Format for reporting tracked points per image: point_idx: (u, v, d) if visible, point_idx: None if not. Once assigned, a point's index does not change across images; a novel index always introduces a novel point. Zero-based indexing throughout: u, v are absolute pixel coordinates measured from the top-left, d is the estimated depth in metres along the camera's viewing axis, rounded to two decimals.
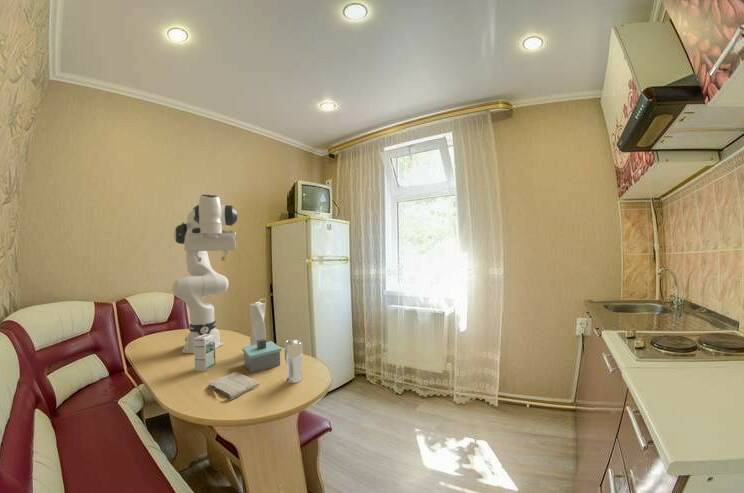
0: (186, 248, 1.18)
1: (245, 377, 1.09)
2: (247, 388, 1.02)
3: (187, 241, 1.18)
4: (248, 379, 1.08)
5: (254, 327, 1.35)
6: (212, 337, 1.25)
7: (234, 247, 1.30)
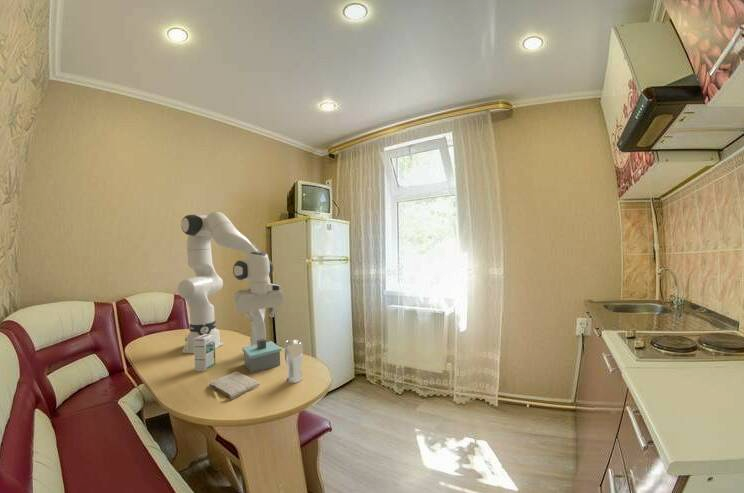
0: None
1: (245, 377, 1.09)
2: (247, 388, 1.02)
3: None
4: (248, 379, 1.08)
5: (254, 327, 1.35)
6: (212, 337, 1.25)
7: None
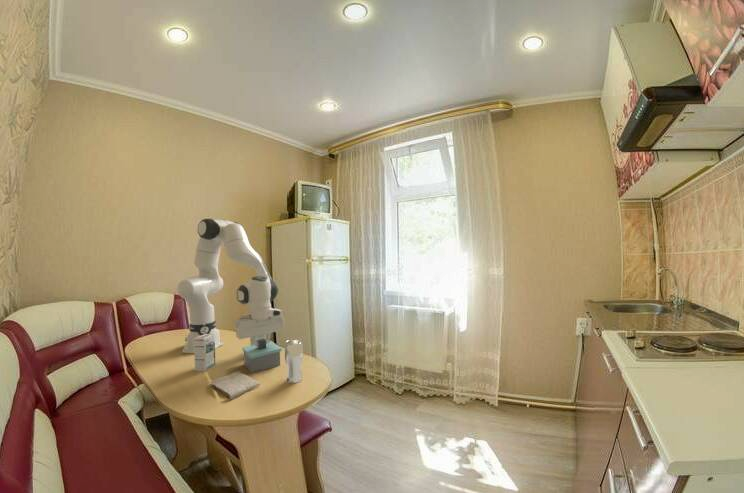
0: None
1: (246, 377, 1.10)
2: (247, 388, 1.02)
3: None
4: (249, 379, 1.08)
5: None
6: (212, 337, 1.25)
7: None
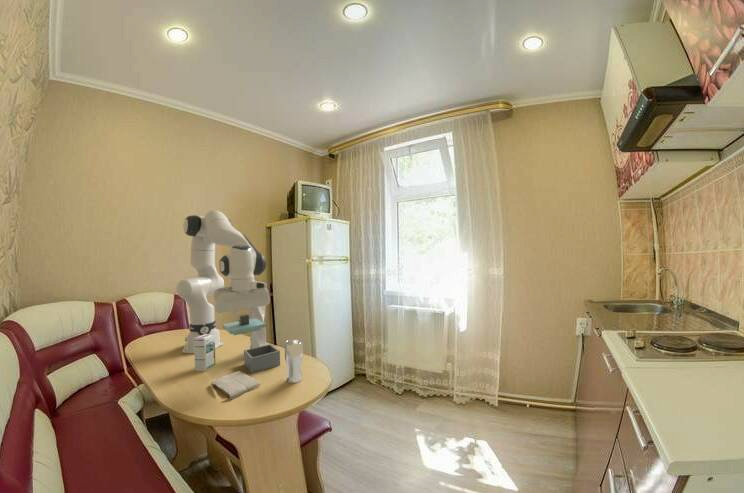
0: None
1: (247, 377, 1.10)
2: (247, 388, 1.02)
3: None
4: (249, 379, 1.08)
5: None
6: (212, 337, 1.25)
7: None
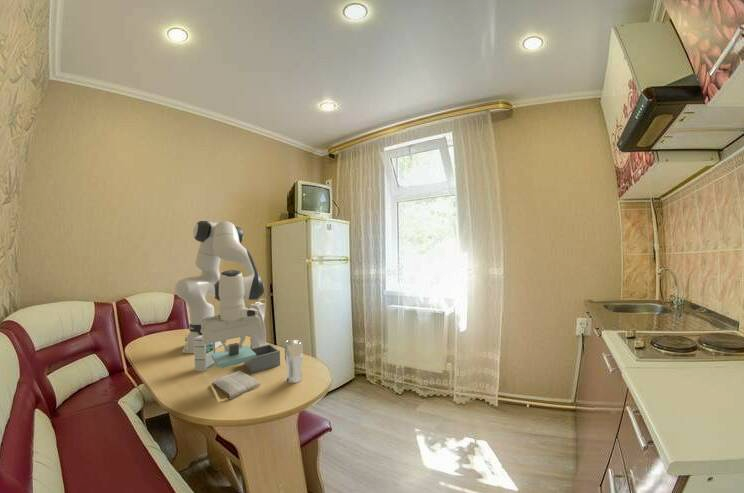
0: None
1: (247, 376, 1.10)
2: (247, 388, 1.02)
3: None
4: (249, 379, 1.08)
5: None
6: None
7: None
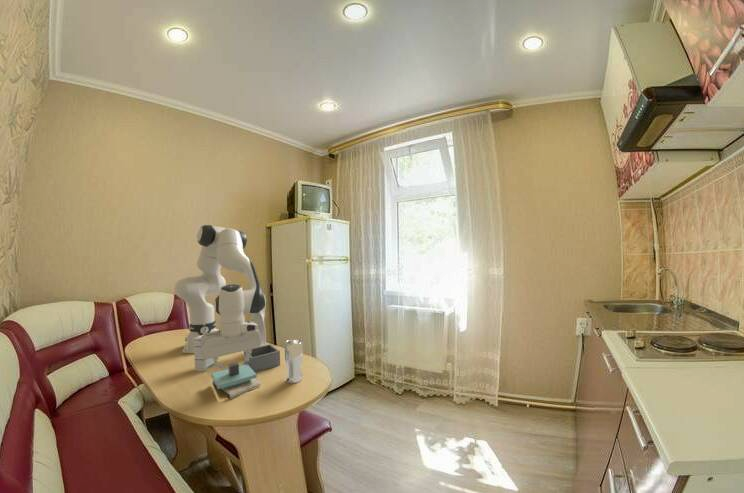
0: None
1: None
2: (247, 388, 1.02)
3: None
4: None
5: None
6: None
7: None
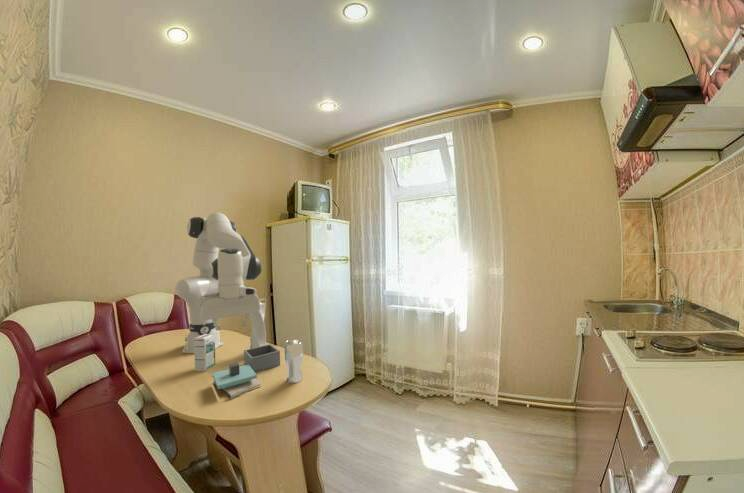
0: None
1: None
2: (248, 388, 1.02)
3: None
4: None
5: (254, 327, 1.35)
6: (212, 337, 1.25)
7: None
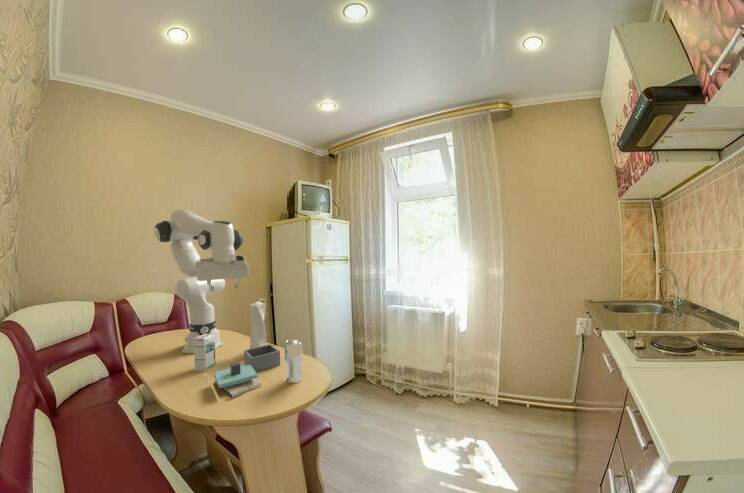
0: None
1: None
2: (249, 388, 1.03)
3: None
4: None
5: (254, 327, 1.35)
6: (212, 337, 1.25)
7: None
